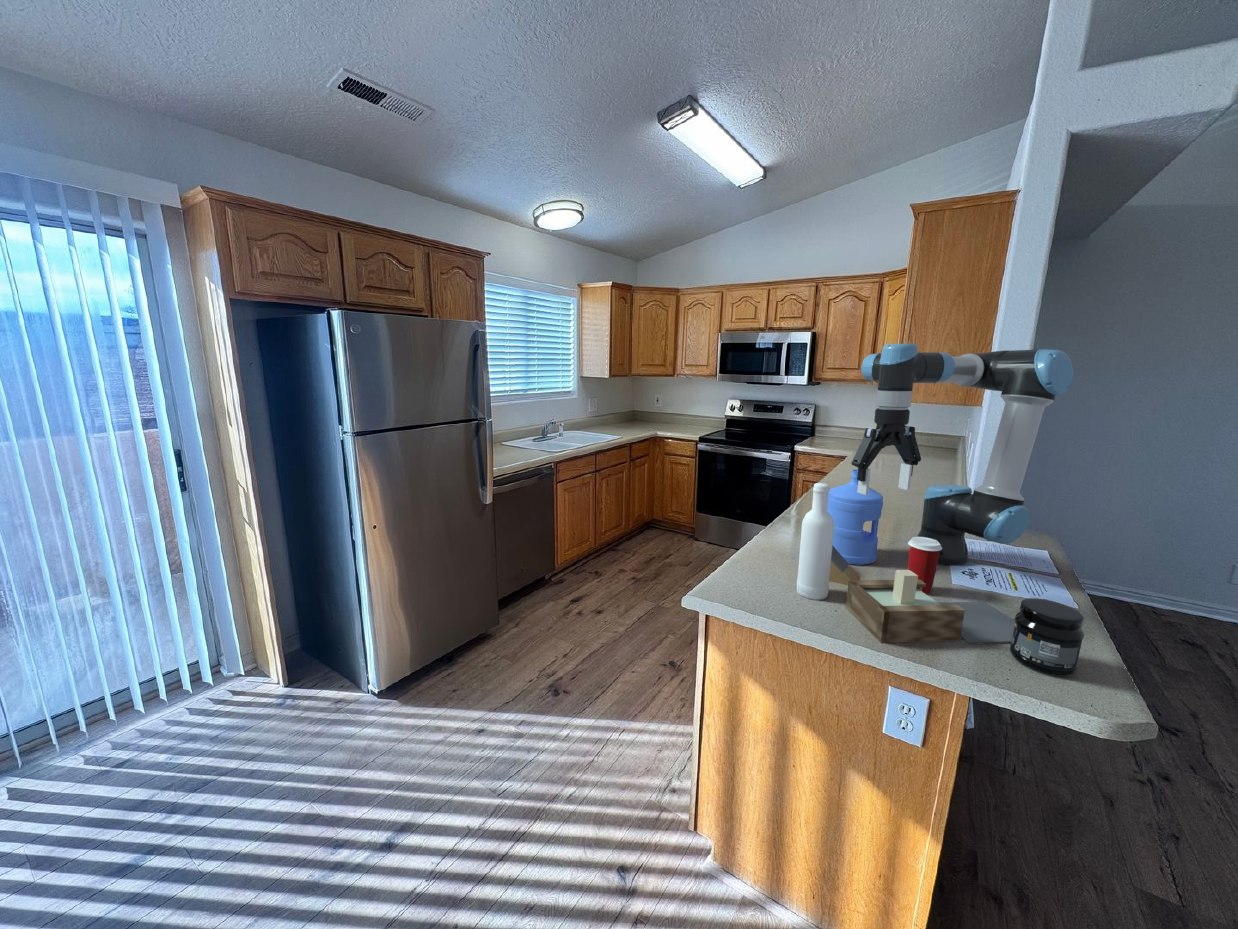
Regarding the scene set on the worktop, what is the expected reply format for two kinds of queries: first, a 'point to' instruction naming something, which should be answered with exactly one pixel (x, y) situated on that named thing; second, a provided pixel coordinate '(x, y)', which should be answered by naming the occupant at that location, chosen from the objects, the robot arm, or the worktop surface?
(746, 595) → the worktop surface
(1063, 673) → the supplement container
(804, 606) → the worktop surface
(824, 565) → the bottle
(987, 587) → the worktop surface
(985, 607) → the charcoal mat
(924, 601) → the cover plate
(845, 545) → the water jug
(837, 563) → the sandwich container
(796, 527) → the worktop surface
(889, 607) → the walnut box
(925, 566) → the paper cup
